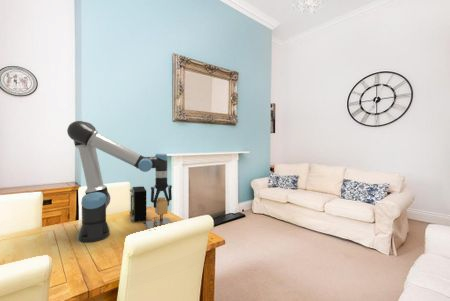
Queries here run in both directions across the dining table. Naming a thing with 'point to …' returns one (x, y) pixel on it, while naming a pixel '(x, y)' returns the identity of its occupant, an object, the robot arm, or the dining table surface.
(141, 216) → the electrical component
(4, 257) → the dining table surface
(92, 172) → the robot arm
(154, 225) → the amber glass cylinder
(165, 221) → the plate
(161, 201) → the cube with dome knob
